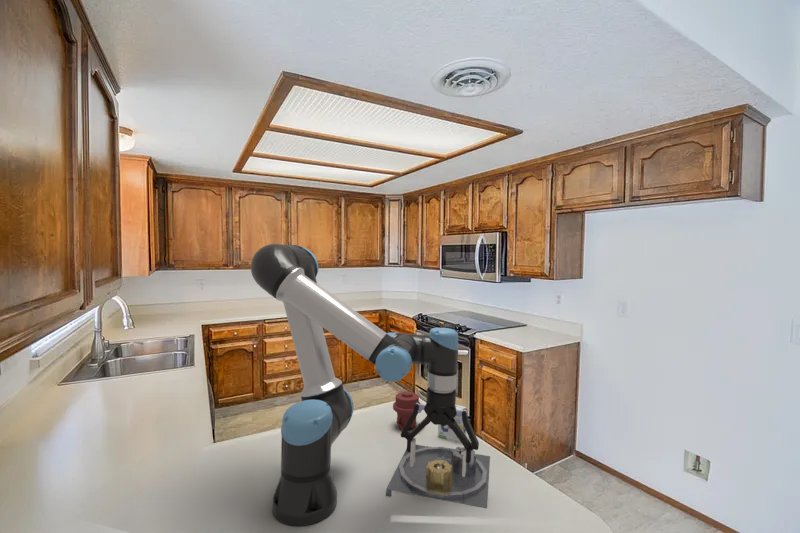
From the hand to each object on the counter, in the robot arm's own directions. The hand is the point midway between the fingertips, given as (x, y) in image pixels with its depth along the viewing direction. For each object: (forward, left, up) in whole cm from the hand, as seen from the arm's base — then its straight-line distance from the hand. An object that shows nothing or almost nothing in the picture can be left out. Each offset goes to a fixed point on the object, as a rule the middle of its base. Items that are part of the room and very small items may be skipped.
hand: (437, 469), depth 99 cm
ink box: (+27, 0, -6) cm, 28 cm away
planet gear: (0, 0, -4) cm, 4 cm away
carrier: (+6, 0, -5) cm, 8 cm away
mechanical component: (+33, +17, -6) cm, 38 cm away
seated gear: (+10, -6, -4) cm, 12 cm away
